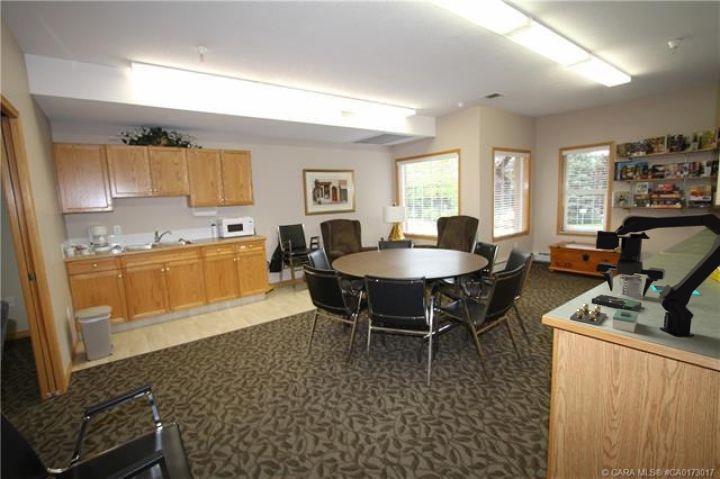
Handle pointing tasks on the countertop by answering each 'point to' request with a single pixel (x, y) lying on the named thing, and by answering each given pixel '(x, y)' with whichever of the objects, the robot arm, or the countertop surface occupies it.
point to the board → (625, 320)
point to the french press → (630, 287)
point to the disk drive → (616, 302)
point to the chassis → (589, 315)
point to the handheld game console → (661, 288)
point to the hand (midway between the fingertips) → (627, 293)
